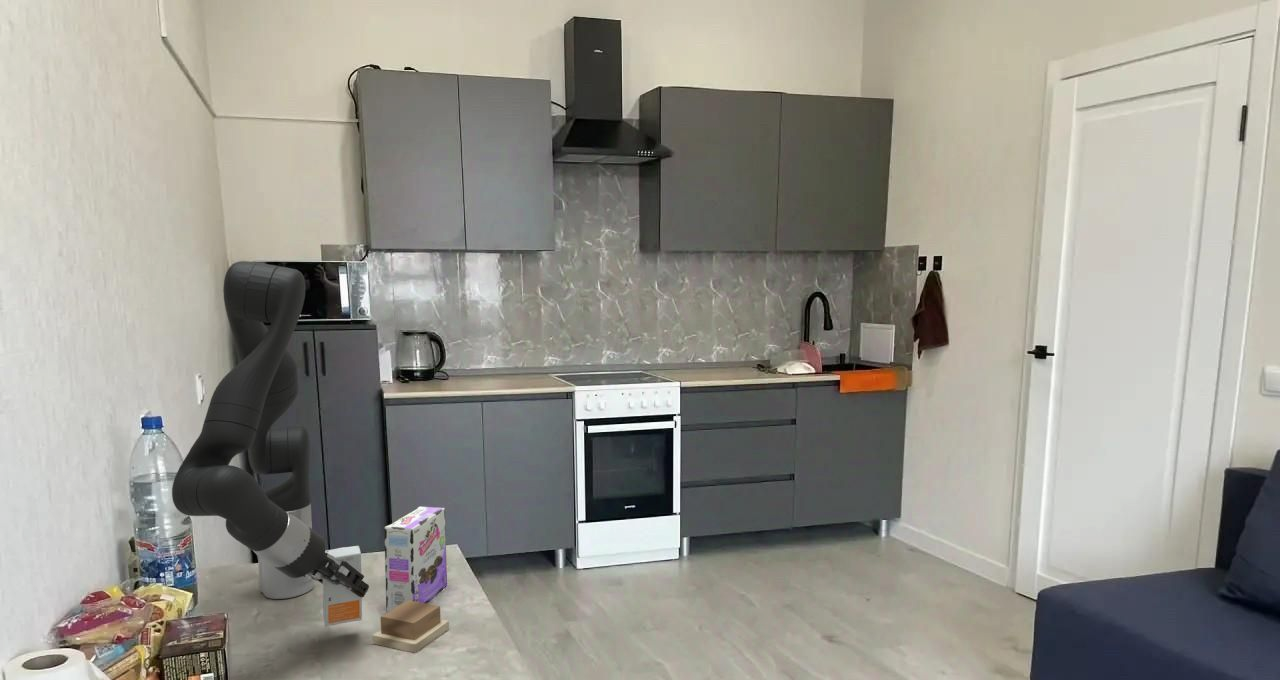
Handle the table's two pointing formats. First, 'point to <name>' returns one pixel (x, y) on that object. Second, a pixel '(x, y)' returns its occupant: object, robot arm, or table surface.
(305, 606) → the table surface
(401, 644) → the plinth
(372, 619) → the table surface
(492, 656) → the table surface
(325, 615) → the skincare box
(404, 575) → the candy box
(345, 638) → the table surface
